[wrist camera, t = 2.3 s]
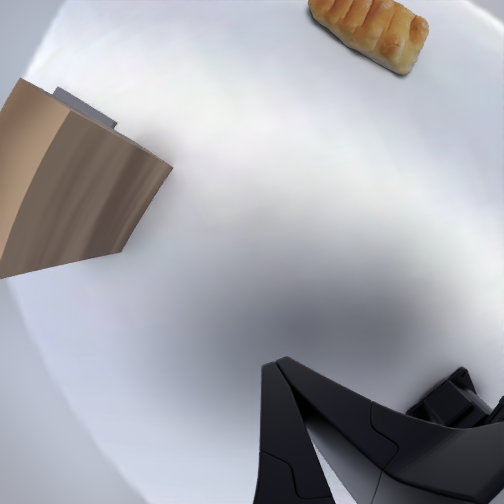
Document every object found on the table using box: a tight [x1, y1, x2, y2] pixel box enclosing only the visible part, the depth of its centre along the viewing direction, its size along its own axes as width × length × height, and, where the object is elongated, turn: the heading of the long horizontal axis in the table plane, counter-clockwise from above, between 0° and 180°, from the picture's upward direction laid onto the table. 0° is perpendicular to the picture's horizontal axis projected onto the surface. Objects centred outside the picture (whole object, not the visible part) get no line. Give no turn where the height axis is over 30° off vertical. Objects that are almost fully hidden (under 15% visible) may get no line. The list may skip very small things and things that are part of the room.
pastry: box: [308, 0, 429, 75], centre depth 16 cm, size 9×7×4 cm
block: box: [0, 78, 173, 279], centre depth 14 cm, size 4×7×12 cm, turn 145°
